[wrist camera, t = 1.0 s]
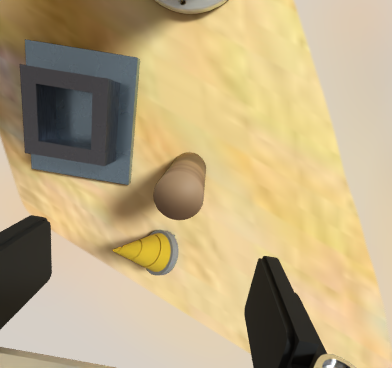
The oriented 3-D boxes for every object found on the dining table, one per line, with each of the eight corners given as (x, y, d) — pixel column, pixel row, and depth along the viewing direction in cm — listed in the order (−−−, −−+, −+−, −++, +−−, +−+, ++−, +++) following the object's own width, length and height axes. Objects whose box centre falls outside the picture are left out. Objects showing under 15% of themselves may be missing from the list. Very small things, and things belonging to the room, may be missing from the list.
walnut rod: (175, 150, 27) (156, 168, 18) (208, 155, 27) (207, 177, 18) (170, 181, 28) (151, 215, 19) (202, 187, 28) (199, 223, 19)
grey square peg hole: (30, 41, 25) (-1, 29, 21) (140, 59, 25) (127, 49, 21) (36, 167, 29) (11, 174, 25) (130, 182, 29) (118, 192, 25)
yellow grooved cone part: (159, 266, 33) (92, 268, 25) (168, 229, 33) (106, 219, 26) (187, 280, 29) (119, 286, 22) (196, 237, 30) (134, 230, 22)
